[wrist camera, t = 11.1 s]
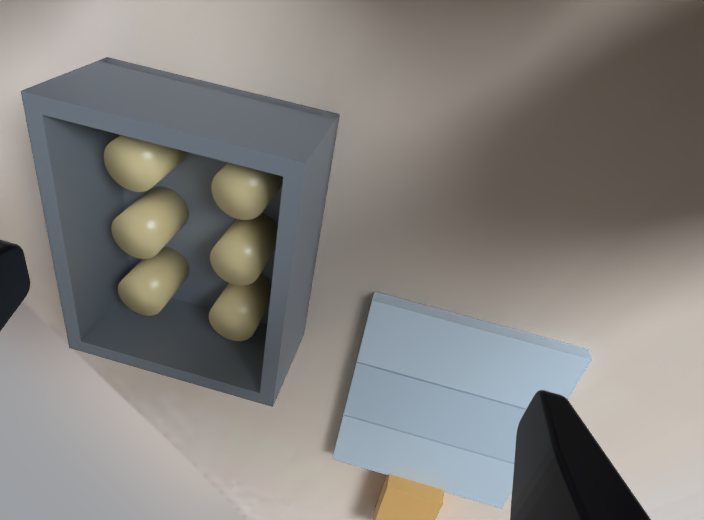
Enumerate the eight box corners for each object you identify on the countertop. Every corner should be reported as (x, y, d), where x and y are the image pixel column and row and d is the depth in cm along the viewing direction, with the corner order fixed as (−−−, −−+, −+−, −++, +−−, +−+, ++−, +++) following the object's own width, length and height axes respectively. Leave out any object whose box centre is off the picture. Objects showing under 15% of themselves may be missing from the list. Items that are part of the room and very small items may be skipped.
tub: (339, 114, 19) (304, 163, 15) (303, 334, 25) (272, 406, 22) (107, 57, 20) (20, 90, 16) (128, 286, 26) (69, 347, 22)
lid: (588, 346, 23) (595, 373, 21) (475, 538, 32) (475, 566, 30) (375, 289, 23) (368, 311, 22) (323, 493, 32) (317, 518, 31)
